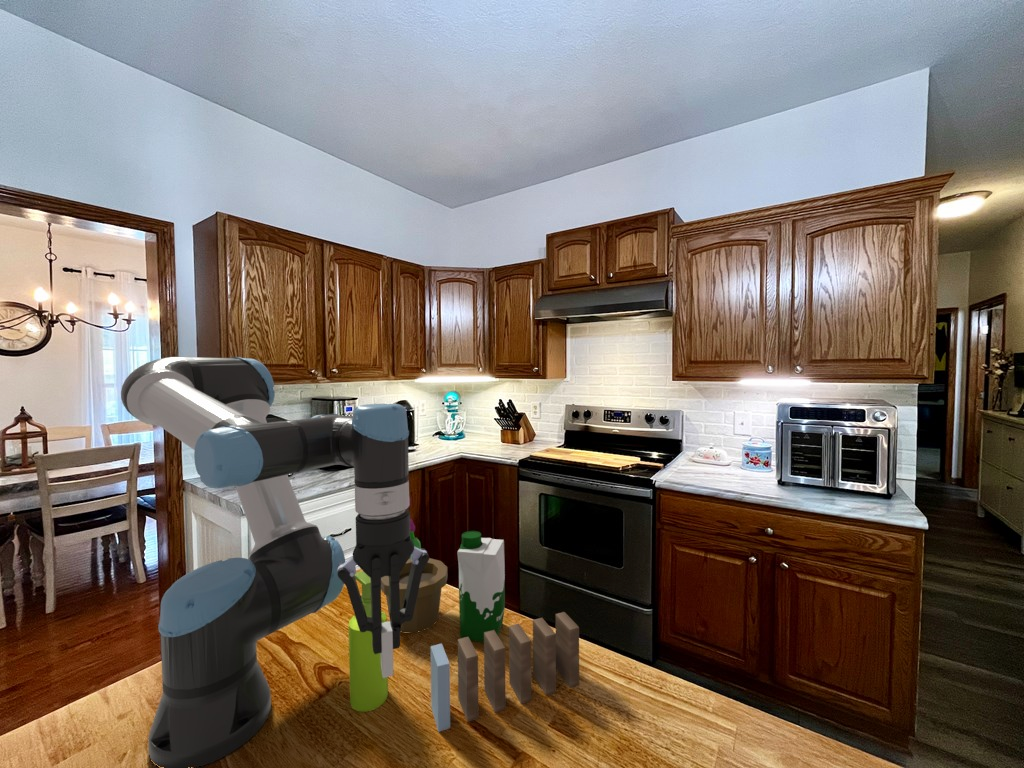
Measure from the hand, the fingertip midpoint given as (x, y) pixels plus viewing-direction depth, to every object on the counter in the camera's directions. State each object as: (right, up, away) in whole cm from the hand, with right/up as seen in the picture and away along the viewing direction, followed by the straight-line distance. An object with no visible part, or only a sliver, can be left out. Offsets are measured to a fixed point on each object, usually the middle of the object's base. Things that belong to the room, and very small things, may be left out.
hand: (387, 670), depth 63 cm
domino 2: (+11, -10, +5) cm, 16 cm away
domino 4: (+20, -9, +9) cm, 23 cm away
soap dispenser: (-5, -10, +8) cm, 14 cm away
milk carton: (+12, -9, +25) cm, 30 cm away
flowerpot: (-3, -9, +30) cm, 31 cm away
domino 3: (+16, -10, +7) cm, 20 cm away
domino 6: (+28, -9, +12) cm, 32 cm away
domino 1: (+7, -10, +4) cm, 13 cm away
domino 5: (+24, -9, +11) cm, 28 cm away
